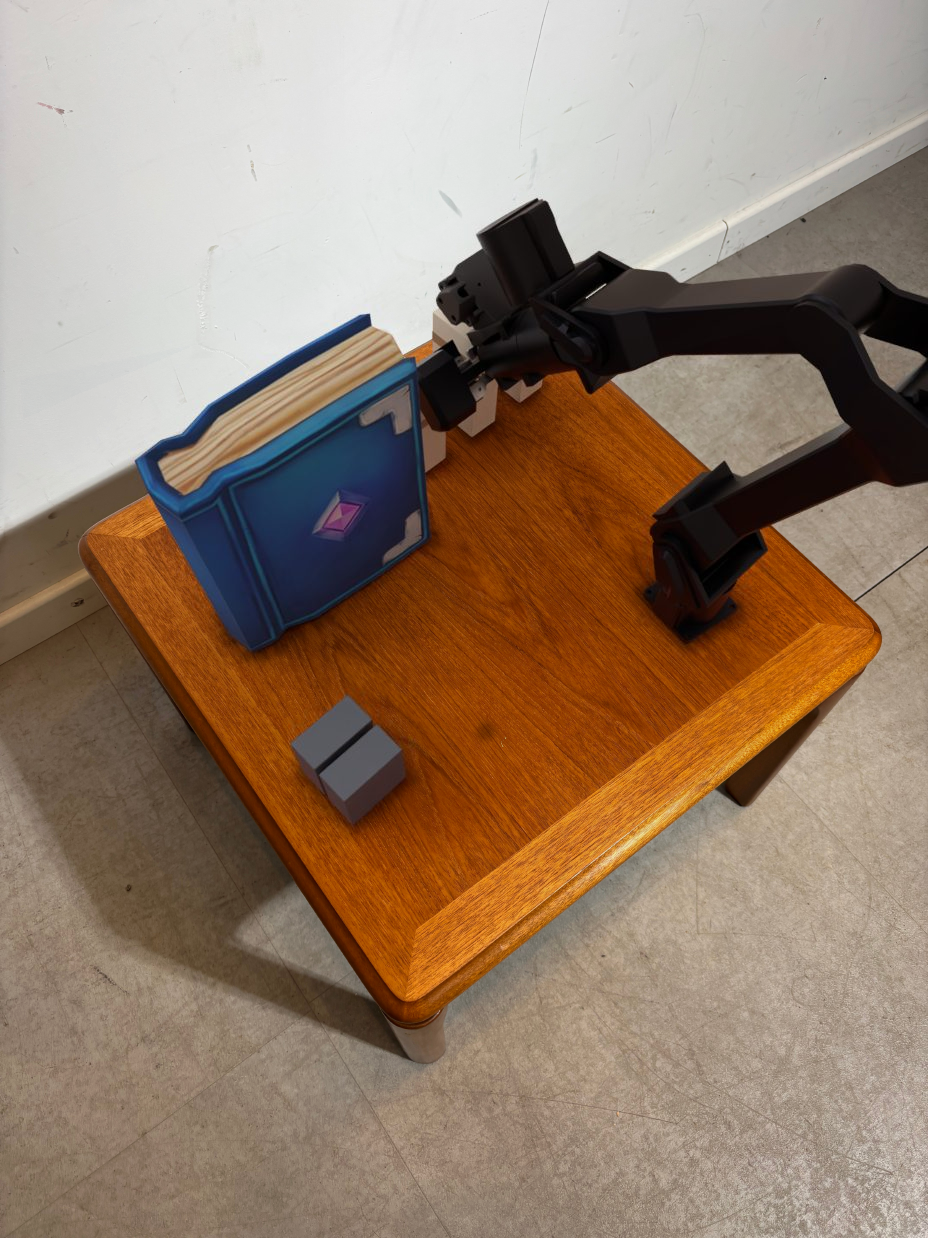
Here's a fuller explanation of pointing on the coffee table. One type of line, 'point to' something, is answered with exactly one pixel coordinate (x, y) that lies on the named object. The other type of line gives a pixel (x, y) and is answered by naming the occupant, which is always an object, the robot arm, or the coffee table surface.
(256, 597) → the book
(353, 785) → the grey blocks
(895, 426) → the robot arm
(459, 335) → the white lidded box
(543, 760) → the coffee table surface
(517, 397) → the cream lidded boxes
